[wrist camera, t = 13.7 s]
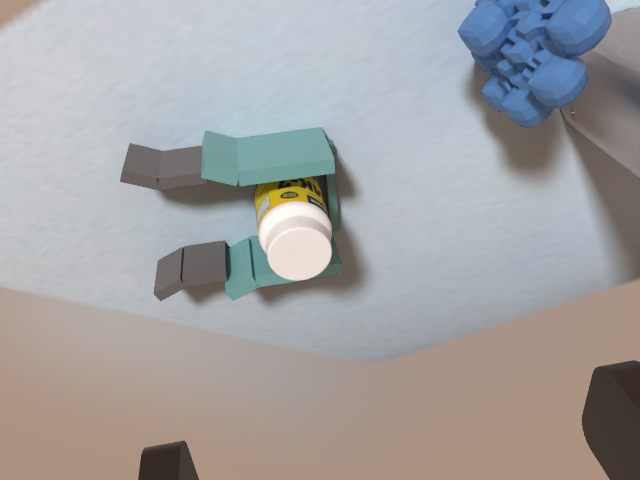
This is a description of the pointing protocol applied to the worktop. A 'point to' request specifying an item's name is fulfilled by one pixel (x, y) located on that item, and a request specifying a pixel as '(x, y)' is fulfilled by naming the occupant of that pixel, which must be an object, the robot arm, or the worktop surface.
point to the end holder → (262, 167)
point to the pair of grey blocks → (167, 173)
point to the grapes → (533, 52)
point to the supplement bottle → (293, 227)
